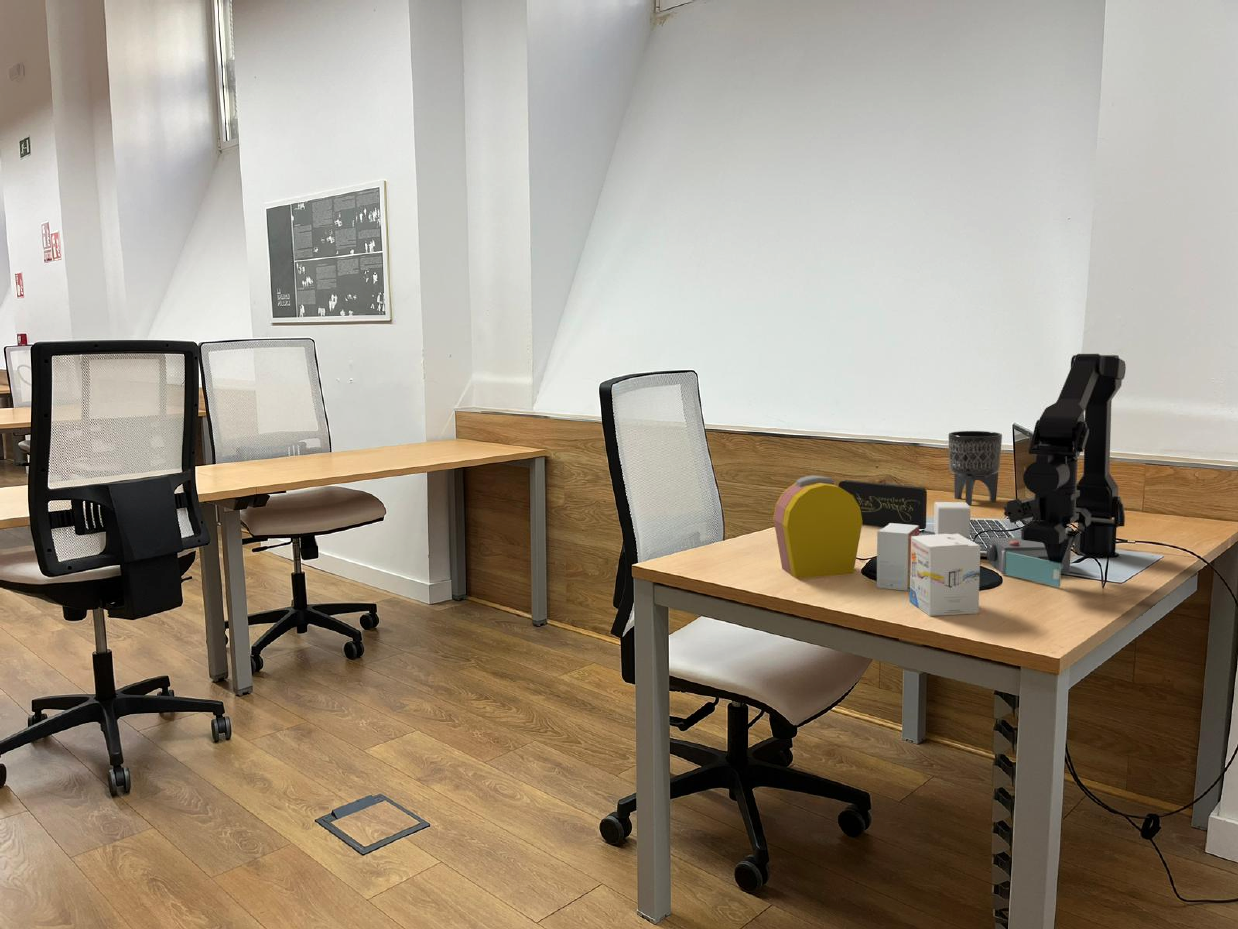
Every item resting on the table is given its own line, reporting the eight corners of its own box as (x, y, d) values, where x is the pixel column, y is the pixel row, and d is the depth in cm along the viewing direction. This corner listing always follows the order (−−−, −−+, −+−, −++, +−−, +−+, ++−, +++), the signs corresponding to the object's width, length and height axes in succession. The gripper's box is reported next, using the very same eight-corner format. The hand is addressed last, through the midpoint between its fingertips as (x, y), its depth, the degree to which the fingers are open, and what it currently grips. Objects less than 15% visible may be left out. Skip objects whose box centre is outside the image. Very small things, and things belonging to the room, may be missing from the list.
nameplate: (926, 531, 209) (927, 487, 207) (922, 532, 207) (923, 489, 206) (842, 520, 222) (842, 479, 221) (838, 521, 221) (838, 480, 220)
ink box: (908, 601, 157) (909, 534, 155) (956, 599, 158) (957, 532, 156) (929, 617, 149) (930, 546, 147) (979, 614, 149) (981, 543, 148)
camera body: (1051, 562, 179) (1053, 533, 179) (1069, 573, 171) (1071, 543, 170) (983, 563, 180) (984, 535, 179) (998, 574, 172) (999, 544, 171)
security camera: (969, 556, 185) (970, 507, 184) (933, 555, 187) (934, 507, 185) (964, 548, 192) (965, 501, 190) (929, 548, 193) (930, 501, 191)
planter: (994, 507, 231) (996, 437, 229) (941, 503, 238) (942, 435, 236) (1004, 499, 242) (1006, 432, 240) (953, 495, 249) (955, 430, 247)
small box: (907, 592, 162) (908, 533, 161) (875, 588, 165) (876, 530, 164) (919, 581, 169) (920, 524, 168) (888, 577, 172) (889, 522, 171)
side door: (998, 574, 171) (999, 551, 171) (1003, 573, 172) (1004, 550, 171) (1056, 588, 161) (1057, 563, 161) (1060, 587, 162) (1061, 562, 162)
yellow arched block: (844, 563, 183) (845, 471, 180) (861, 573, 175) (863, 478, 172) (772, 568, 181) (772, 475, 178) (787, 579, 173) (786, 482, 170)
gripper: (1029, 473, 174) (1026, 553, 176) (991, 489, 160) (989, 576, 163) (1093, 478, 166) (1089, 562, 169) (1059, 496, 153) (1056, 587, 155)
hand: (1055, 571), depth 164 cm, fingers closed
